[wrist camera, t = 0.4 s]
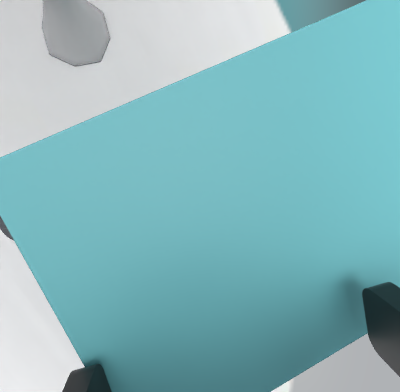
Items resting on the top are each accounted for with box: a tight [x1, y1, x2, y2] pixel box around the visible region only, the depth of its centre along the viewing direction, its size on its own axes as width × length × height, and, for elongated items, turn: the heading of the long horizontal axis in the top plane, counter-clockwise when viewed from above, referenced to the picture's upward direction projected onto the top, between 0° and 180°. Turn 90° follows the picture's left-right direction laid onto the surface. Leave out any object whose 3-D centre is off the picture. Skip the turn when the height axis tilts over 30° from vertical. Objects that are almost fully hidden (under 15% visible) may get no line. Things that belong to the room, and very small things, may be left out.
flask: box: [42, 0, 110, 66], centre depth 29 cm, size 7×7×10 cm
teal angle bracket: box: [0, 0, 400, 392], centre depth 23 cm, size 10×15×28 cm, turn 115°
